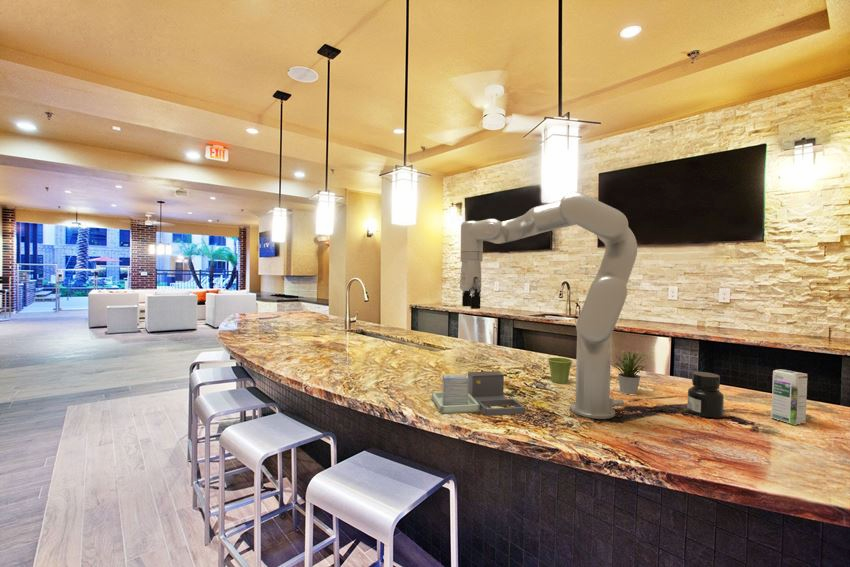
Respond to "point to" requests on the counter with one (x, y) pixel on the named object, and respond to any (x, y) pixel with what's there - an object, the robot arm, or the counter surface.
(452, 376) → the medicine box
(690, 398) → the ink bottle
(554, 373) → the plant pot
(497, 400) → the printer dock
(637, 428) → the counter surface
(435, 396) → the tray
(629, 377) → the house plant
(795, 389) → the syrup box
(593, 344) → the robot arm
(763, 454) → the counter surface
